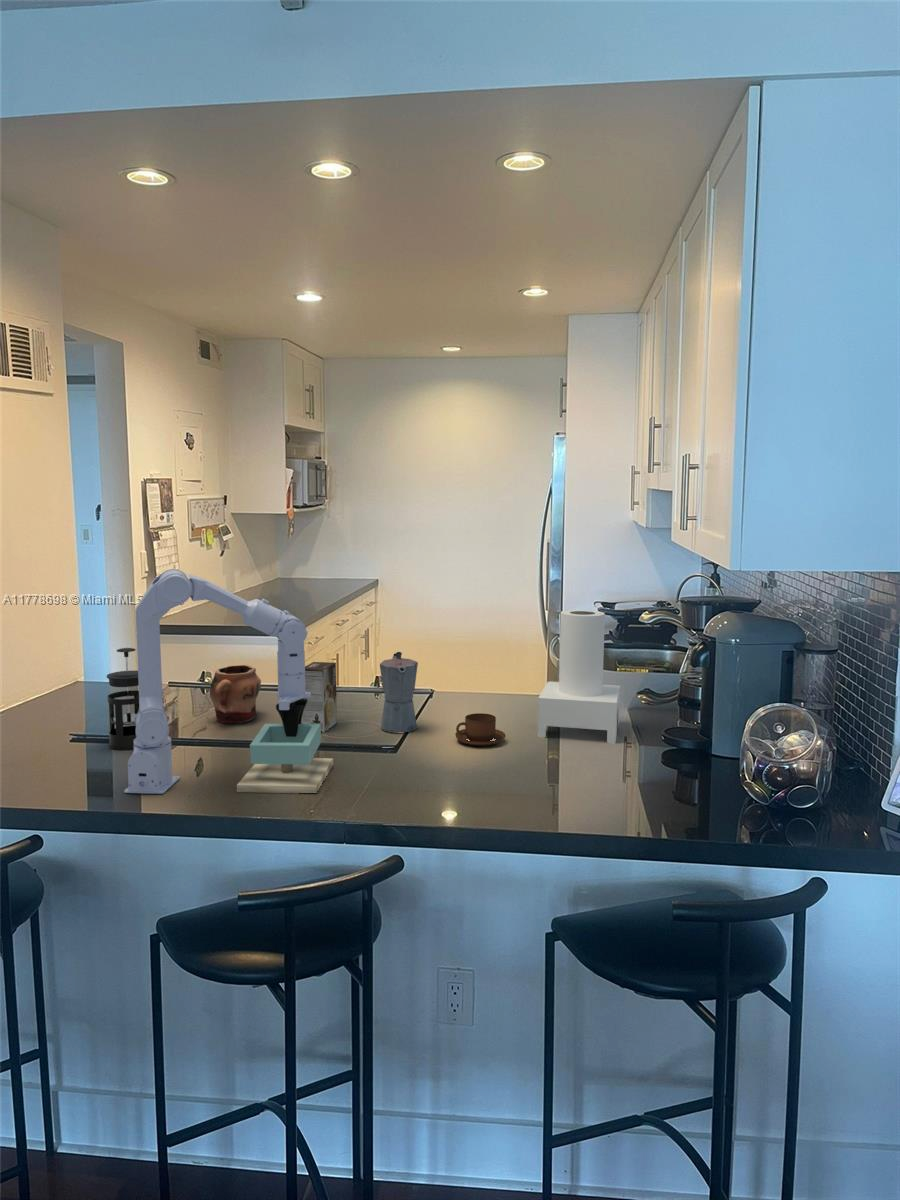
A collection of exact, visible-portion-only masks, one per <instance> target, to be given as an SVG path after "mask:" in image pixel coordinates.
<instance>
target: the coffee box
mask: <svg viewBox="0 0 900 1200" xmlns="http://www.w3.org/2000/svg"><path fill="white" fill-rule="evenodd" d="M305 691H306V692H311V696H310V697H304V698H302V699H307V700H308V702H307V704H306V706H305V708H304V711H303V715H302V719H301V724H320V728H321V731H322V732H321V733H325V732H324V731H326V730H327V731H328V730H329V728H330V729H331V728H332V727H333V726H335V724H337V723H338V716H337V715H338V712H337V711H338V710H337V709H338V708H337V705H338V704H337V702H338V701H337V662H329V661H328V662H326V661H325V662H324V661H313V662H311V663H309V664H307V665H305ZM327 731H326V732H327Z"/></svg>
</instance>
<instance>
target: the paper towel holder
mask: <svg viewBox="0 0 900 1200" xmlns="http://www.w3.org/2000/svg"><path fill="white" fill-rule="evenodd" d="M605 623H606V613H605V612H604V611H603V612H602V611H598V610H592V609H591V610H590V609H567V610H561V611H560V625H559V629H560V630H559V663H558V664H559V665H558V668H559V669H558V671H559V672H558V677H559V678H558V681H547V683H546V684H545V686H544V688H543V689H542V691H541V693H540V694H539V696H538V698H537V699H538V703H537V737H538V736H539V737H546V736H547V735H546V733H547V731H546V729H547V727H554V728H555V727H556V728H557V727H558V728H570V729H571V728H572V729H582V730H583V729H585V730H586V729H587V730H597V731H598V730H600V731H607V732H606V733H607V735H606V744H607V743H608V744H616V741H617V732H618V726H619V724H620V704H621V702H620V700H621V685H618V684H617V685H616V684H615V685H614V684H612V685H611V684H604V656H605V655H604V653H605Z"/></svg>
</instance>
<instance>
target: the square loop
mask: <svg viewBox="0 0 900 1200" xmlns="http://www.w3.org/2000/svg"><path fill="white" fill-rule="evenodd" d="M321 733H322V732H321V728H320V724H302V723H301V724H298V731H297V735H296V737H287V736H286V734H285V730H284V726H283V723H264V724H263V726H262V727H261V729H260V730H259V732H258V733H257V734H256V736H255V737H254V739H253V740H252V741H251V742H250V744H249V754H250V755H249V756H250V764H252V765H254V764H310V763H311V761H312V759H313V758H315V757H314V756H315V754H316V752H317V751H318V749H319V747H320V745H321V743H322V734H321Z"/></svg>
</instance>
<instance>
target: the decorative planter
mask: <svg viewBox="0 0 900 1200" xmlns="http://www.w3.org/2000/svg"><path fill="white" fill-rule="evenodd" d="M256 670H257V669H256V667H252V666H251V665H248V664H240V665H230V666H229V665H228V666H226V667H221V668H218V669H216V670H215V672H214V676H213V677H212V680H211V682H210V687H209V695H210V699H211V701H212V704H213V706H214V712H215V716H216V719H217V721H218V722H219V723H223V724H241V723H245V722H249V721H252V720H254V718H256V716H257V707H256V706H257V705H256V703H257V697H258V696H259V692H260V691H261V688H262V687H261V686H262V685H261V684H262V680H261V678H260V677H259V676H258V675H257V673H256V672H257V671H256Z"/></svg>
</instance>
